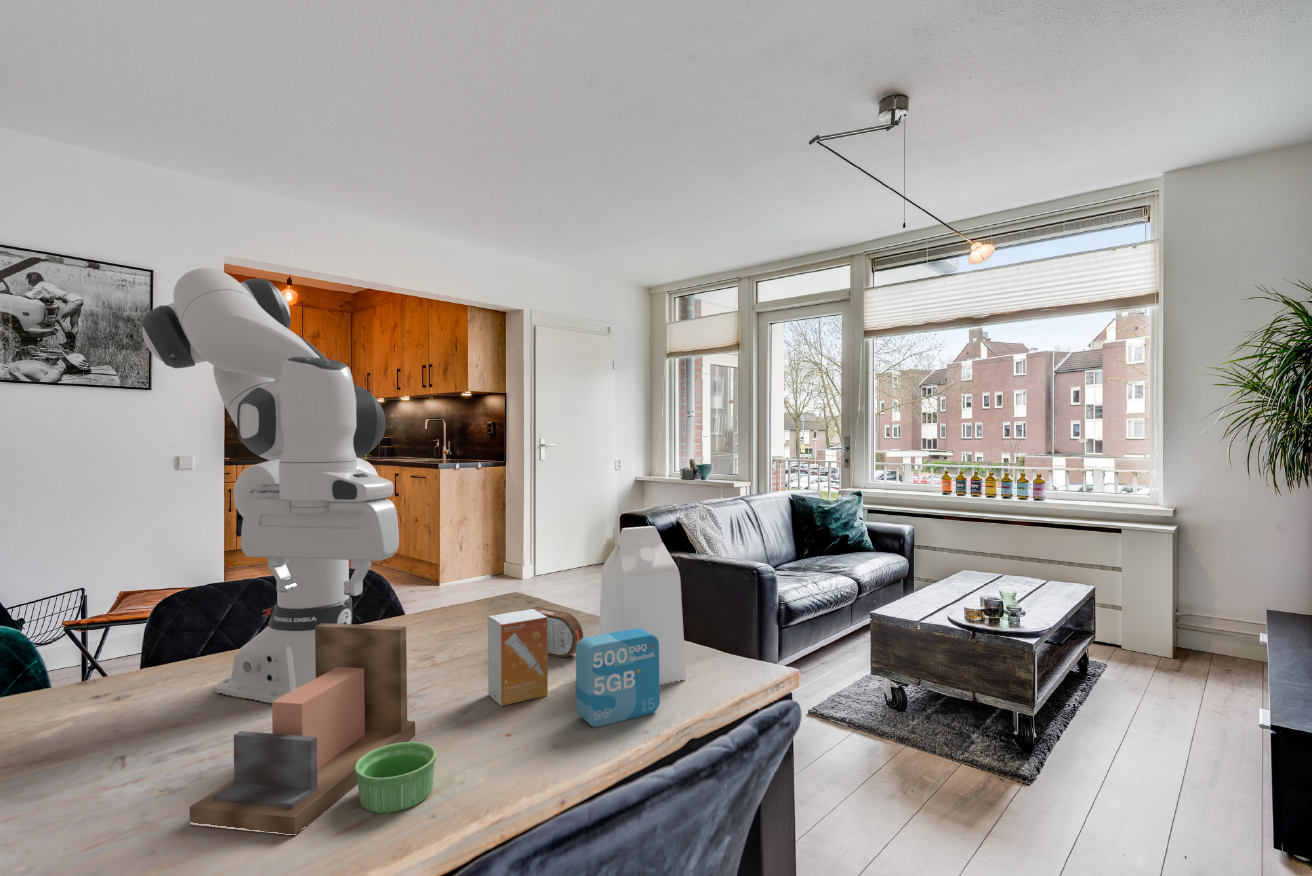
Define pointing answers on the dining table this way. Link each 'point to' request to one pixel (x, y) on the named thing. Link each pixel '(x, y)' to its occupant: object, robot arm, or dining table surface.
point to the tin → (561, 632)
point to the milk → (645, 596)
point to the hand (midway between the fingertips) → (319, 593)
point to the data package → (617, 676)
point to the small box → (517, 656)
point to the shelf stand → (315, 740)
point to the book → (324, 711)
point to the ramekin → (395, 776)
